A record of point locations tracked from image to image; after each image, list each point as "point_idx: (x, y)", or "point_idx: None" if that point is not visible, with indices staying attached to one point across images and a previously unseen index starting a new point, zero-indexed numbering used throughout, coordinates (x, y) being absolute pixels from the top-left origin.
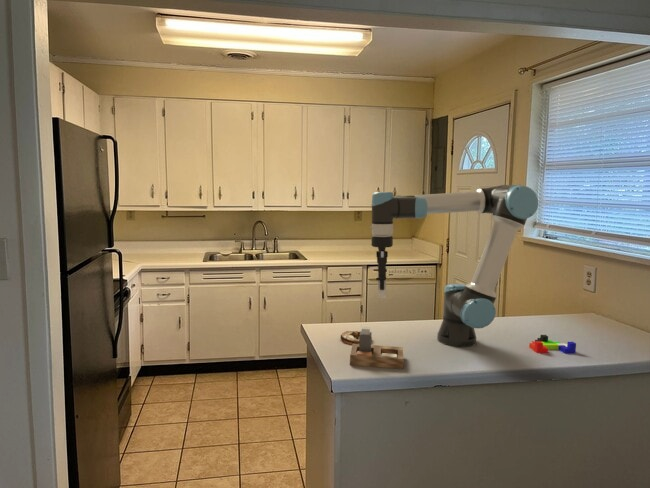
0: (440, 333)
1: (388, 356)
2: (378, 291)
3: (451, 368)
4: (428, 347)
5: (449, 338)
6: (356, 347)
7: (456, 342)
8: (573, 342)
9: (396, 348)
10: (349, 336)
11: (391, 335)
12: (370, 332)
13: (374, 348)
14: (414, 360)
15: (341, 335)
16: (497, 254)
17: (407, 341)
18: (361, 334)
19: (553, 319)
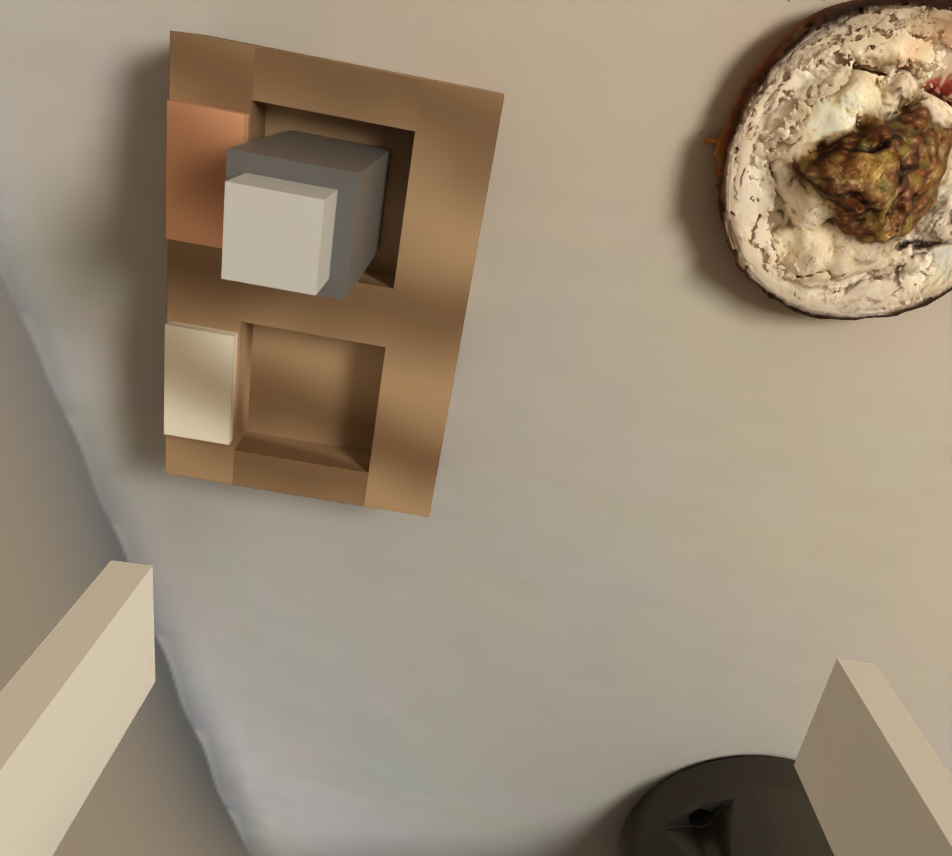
0: (751, 807)
1: (165, 374)
2: (38, 660)
3: (257, 701)
4: (623, 672)
5: (666, 826)
6: (388, 121)
7: (633, 837)
8: None
9: (394, 467)
10: (844, 92)
11: (927, 491)
12: (336, 286)
13: (376, 291)
14: (366, 540)
15: (940, 6)
16: None
17: (762, 575)
18: (246, 173)
19: None
